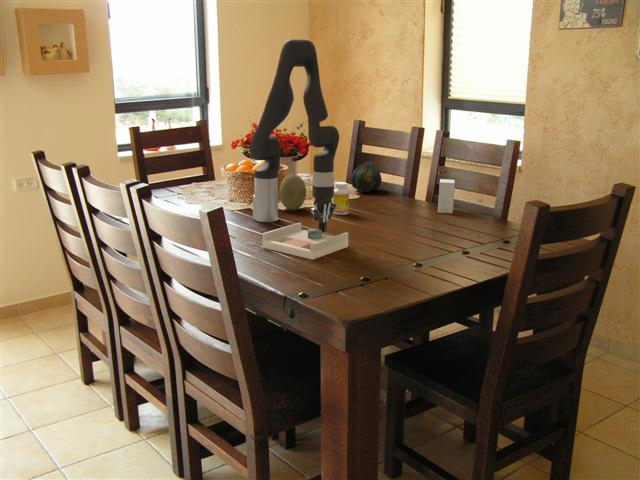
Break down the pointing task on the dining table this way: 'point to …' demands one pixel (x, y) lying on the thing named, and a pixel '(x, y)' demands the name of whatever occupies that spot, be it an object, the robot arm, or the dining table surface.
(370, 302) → the dining table surface
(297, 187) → the fruit
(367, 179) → the squash
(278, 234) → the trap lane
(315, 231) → the puck
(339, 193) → the supplement bottle
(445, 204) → the small box
